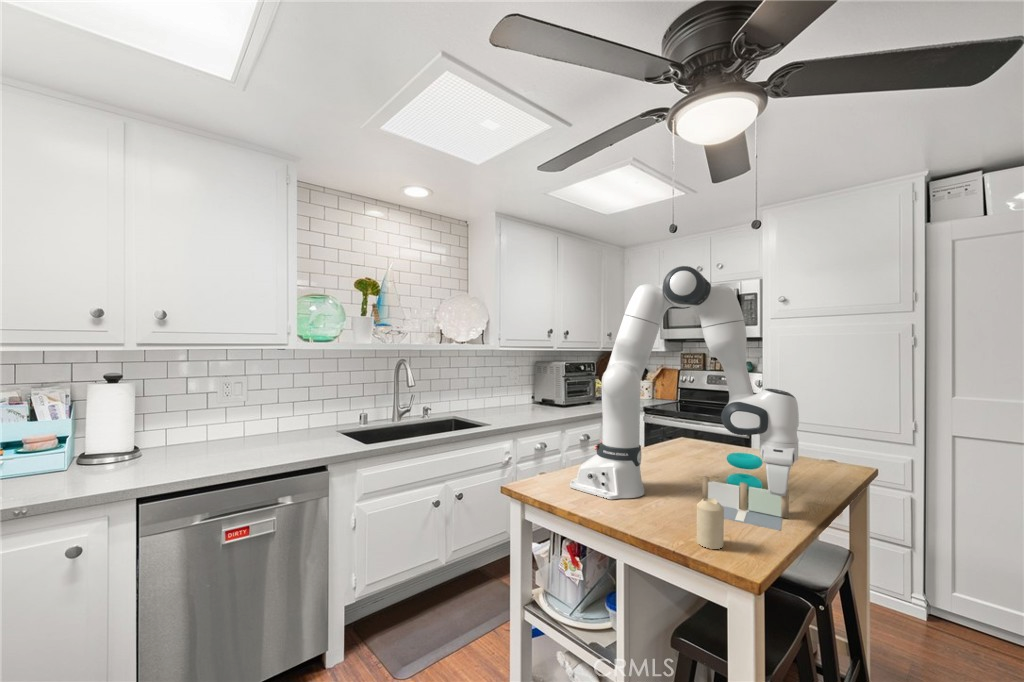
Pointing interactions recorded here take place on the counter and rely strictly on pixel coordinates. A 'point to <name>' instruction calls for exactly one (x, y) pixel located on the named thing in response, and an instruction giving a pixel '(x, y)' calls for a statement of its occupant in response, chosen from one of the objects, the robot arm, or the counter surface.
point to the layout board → (753, 517)
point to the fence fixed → (725, 493)
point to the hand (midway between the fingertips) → (777, 502)
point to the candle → (710, 523)
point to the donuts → (744, 463)
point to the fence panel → (768, 502)
